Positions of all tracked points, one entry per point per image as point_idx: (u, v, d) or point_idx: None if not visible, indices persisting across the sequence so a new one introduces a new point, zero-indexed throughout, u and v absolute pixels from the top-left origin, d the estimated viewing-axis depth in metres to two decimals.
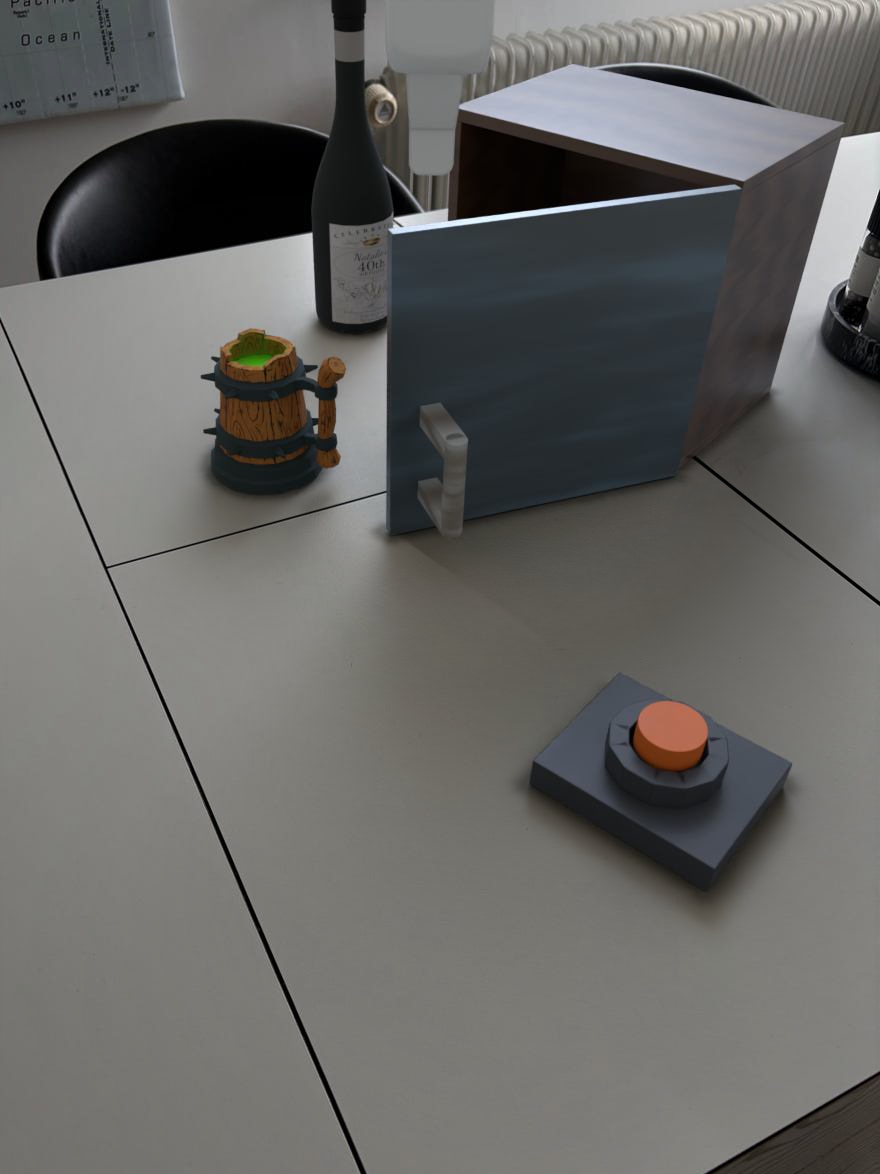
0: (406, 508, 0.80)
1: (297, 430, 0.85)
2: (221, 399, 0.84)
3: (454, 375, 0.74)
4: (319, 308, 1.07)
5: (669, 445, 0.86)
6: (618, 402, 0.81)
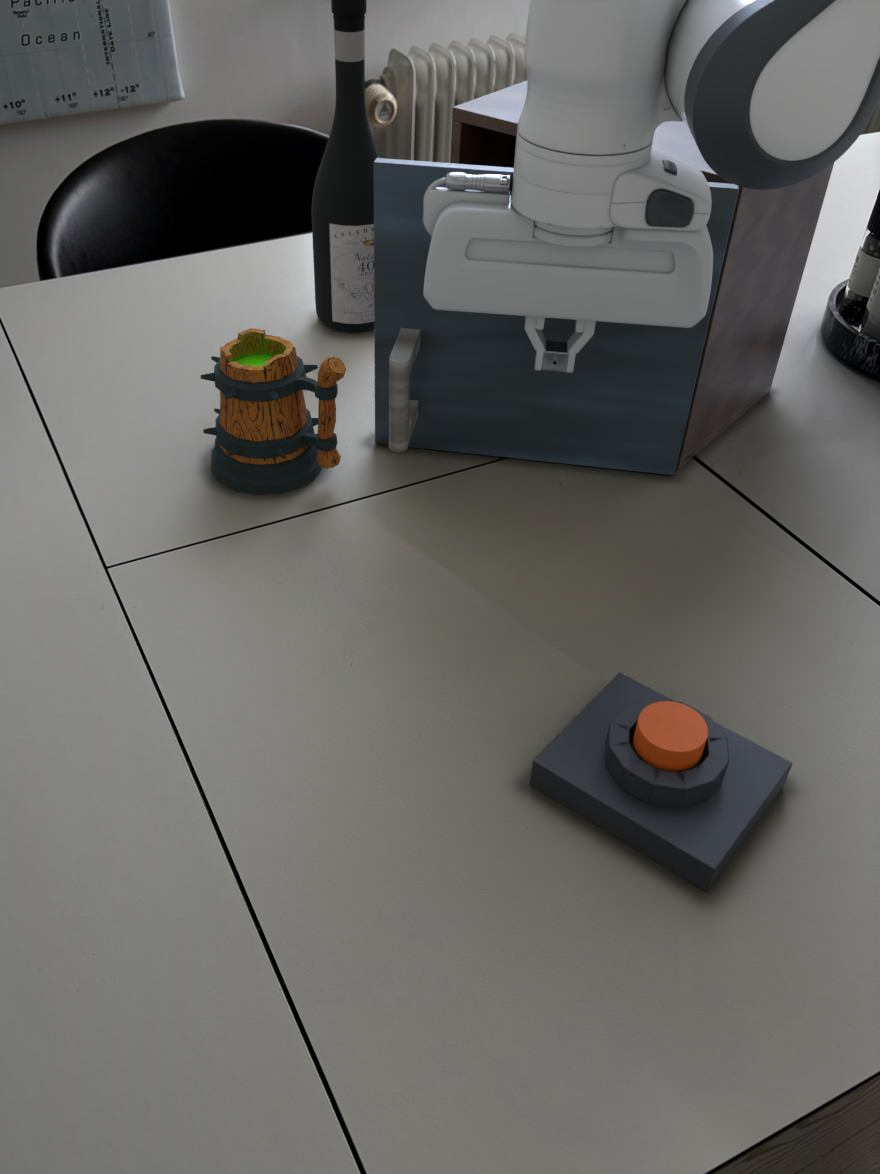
0: None
1: (297, 430, 0.85)
2: (221, 399, 0.84)
3: None
4: (319, 308, 1.07)
5: (663, 440, 0.86)
6: (604, 379, 0.84)
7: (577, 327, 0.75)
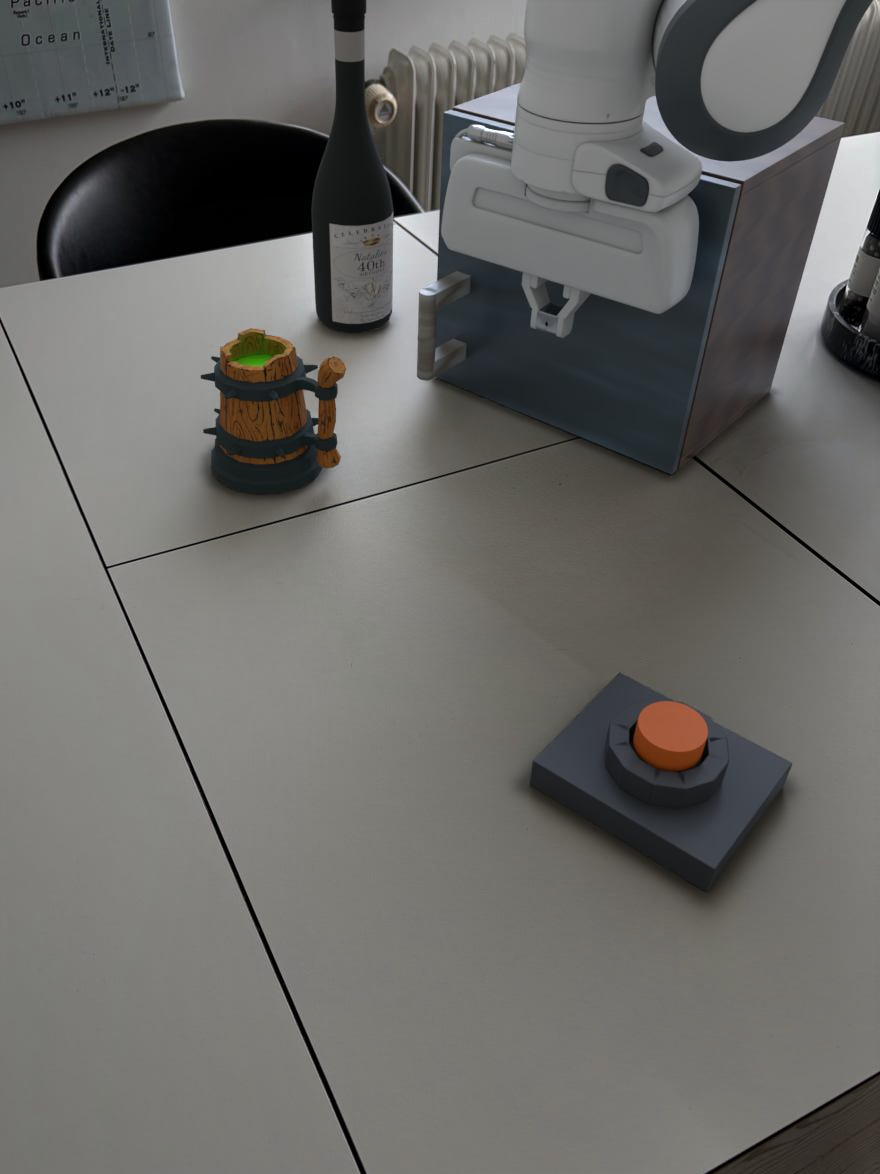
0: None
1: (297, 430, 0.85)
2: (221, 399, 0.84)
3: None
4: (319, 308, 1.07)
5: (663, 435, 0.87)
6: (614, 359, 0.86)
7: (564, 292, 0.79)
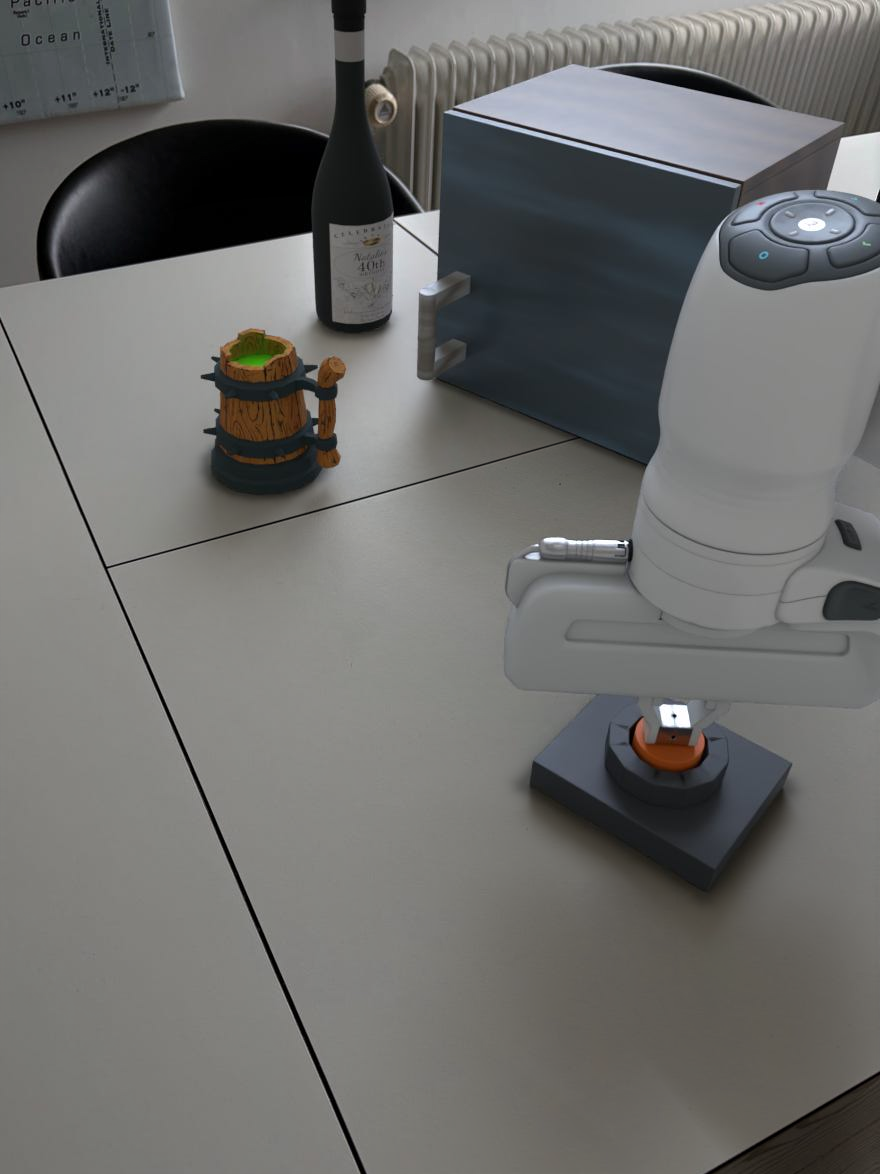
0: None
1: (297, 430, 0.85)
2: (221, 399, 0.84)
3: (481, 256, 0.90)
4: (319, 308, 1.07)
5: None
6: (614, 359, 0.86)
7: (707, 704, 0.57)
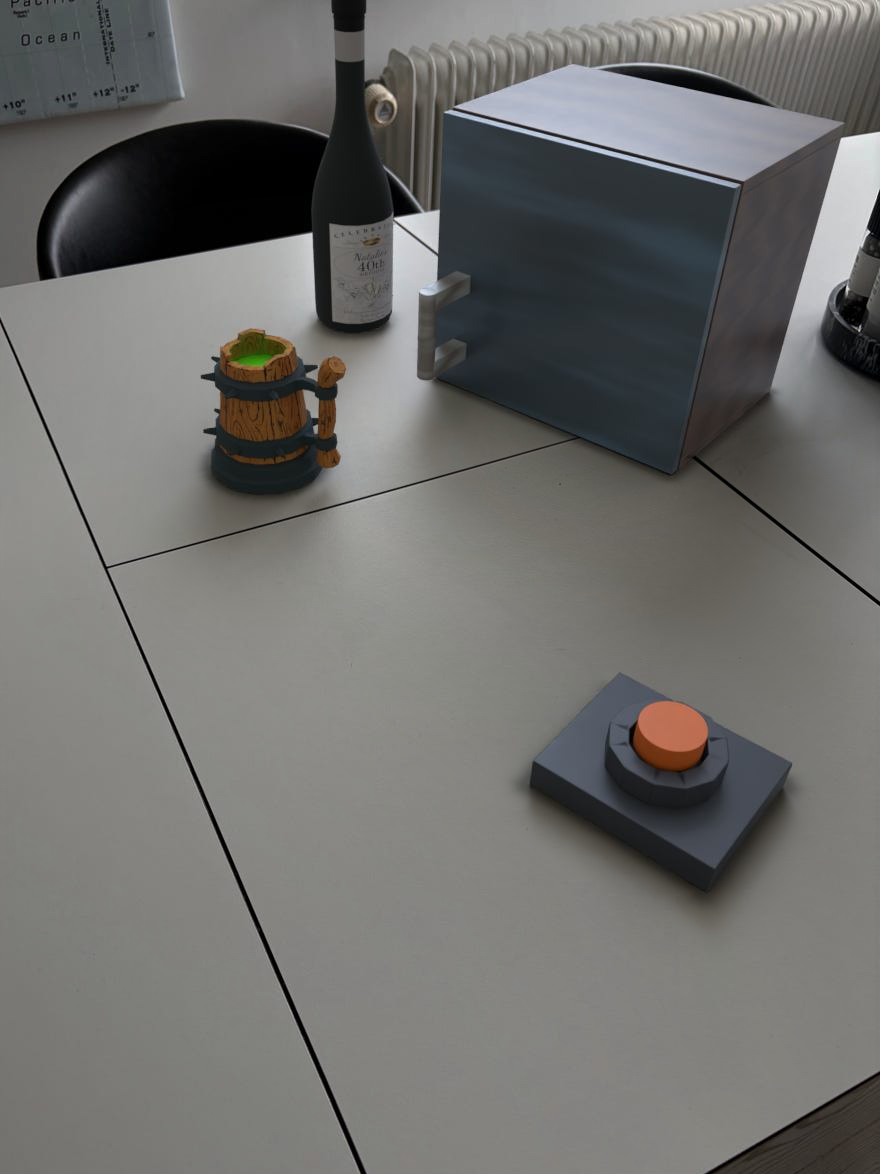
0: None
1: (297, 430, 0.85)
2: (221, 399, 0.84)
3: (481, 256, 0.90)
4: (319, 308, 1.07)
5: (663, 435, 0.87)
6: (614, 359, 0.86)
7: None
